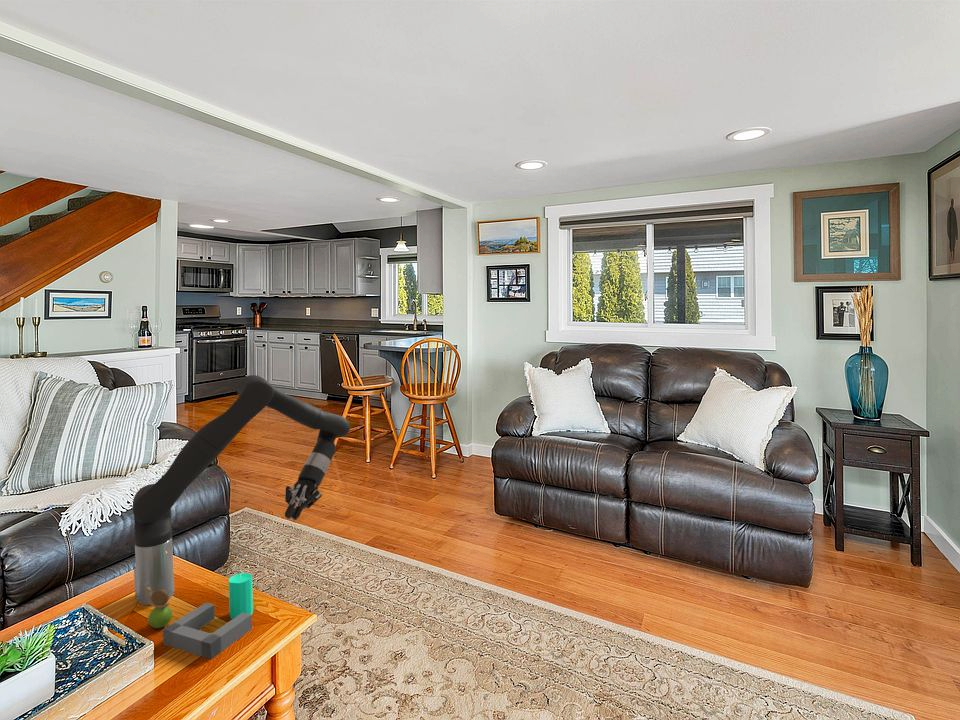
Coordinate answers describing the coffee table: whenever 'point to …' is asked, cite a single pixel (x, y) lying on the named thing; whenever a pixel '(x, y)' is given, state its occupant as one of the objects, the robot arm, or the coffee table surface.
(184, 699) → the coffee table surface
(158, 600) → the snail figurine
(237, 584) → the candle
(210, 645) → the grey u-shaped frame
